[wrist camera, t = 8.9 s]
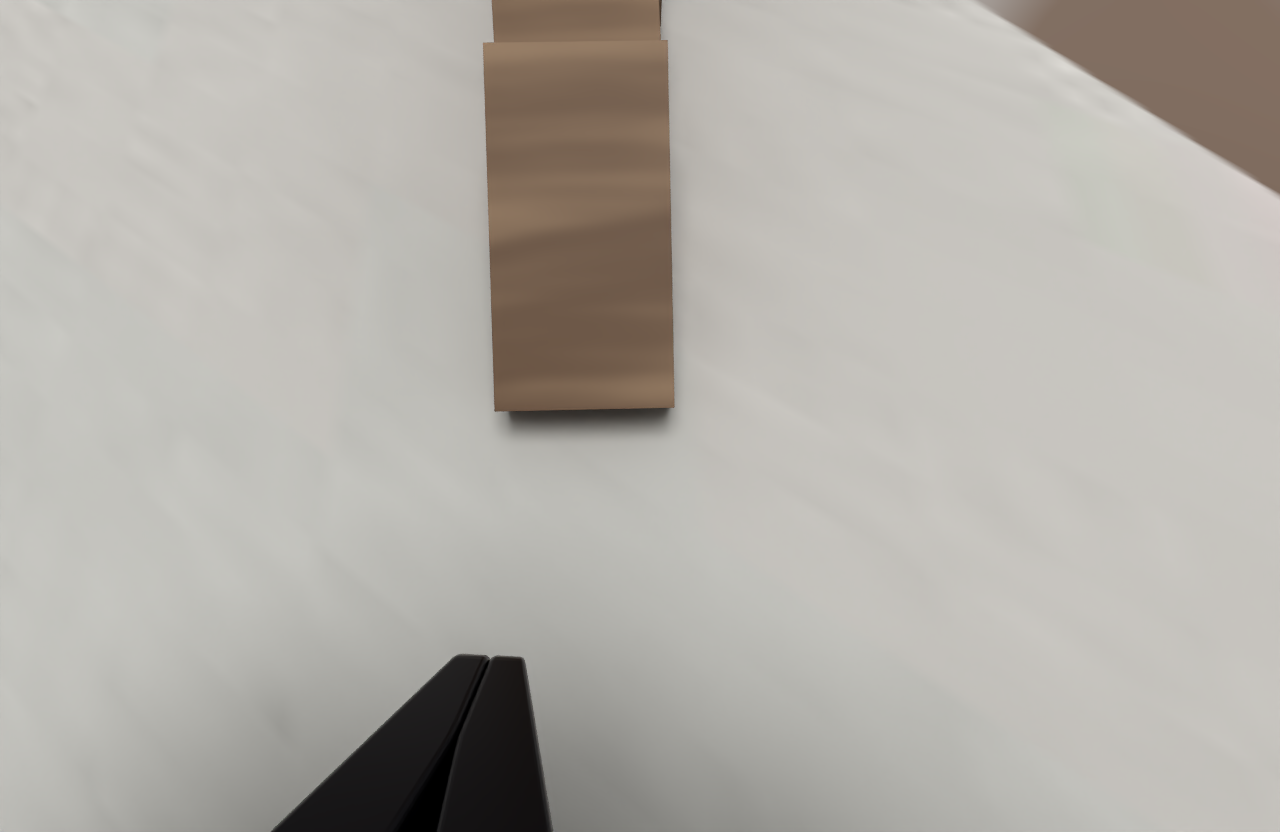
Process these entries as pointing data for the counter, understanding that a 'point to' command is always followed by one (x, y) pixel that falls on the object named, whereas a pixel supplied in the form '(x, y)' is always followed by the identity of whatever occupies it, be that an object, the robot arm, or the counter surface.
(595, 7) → the domino
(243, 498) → the counter surface
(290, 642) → the counter surface
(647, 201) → the domino
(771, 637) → the counter surface
